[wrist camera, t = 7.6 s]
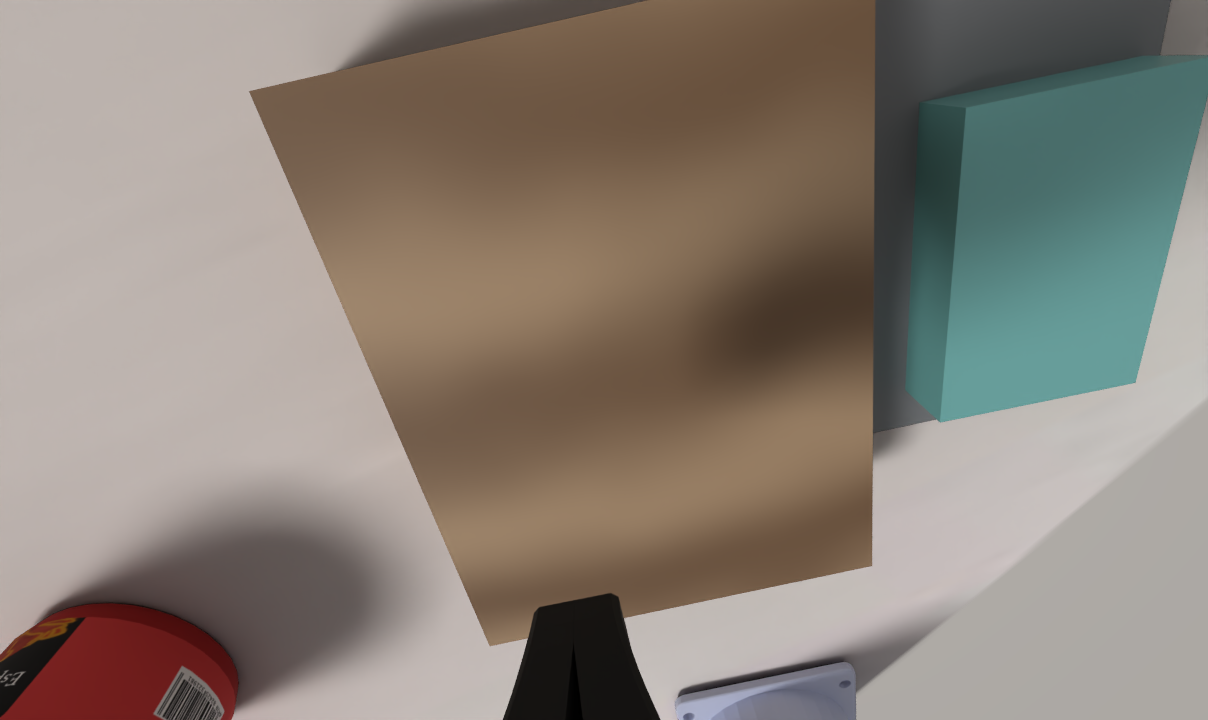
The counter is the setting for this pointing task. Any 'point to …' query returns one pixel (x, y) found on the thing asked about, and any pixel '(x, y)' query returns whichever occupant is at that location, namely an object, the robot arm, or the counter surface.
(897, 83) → the mat
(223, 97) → the counter surface
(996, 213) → the teal rectangular block
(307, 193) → the board
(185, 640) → the canned food
